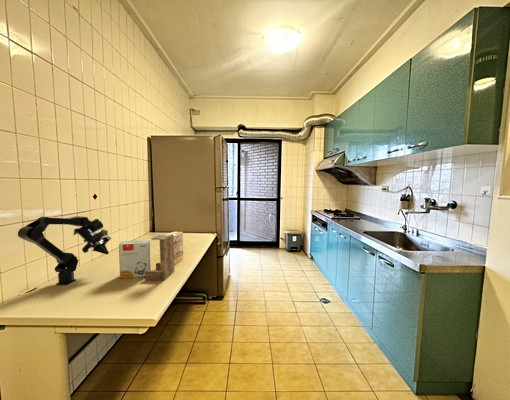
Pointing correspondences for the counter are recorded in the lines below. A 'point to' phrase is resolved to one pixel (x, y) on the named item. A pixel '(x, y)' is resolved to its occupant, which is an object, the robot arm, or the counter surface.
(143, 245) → the hard drive box
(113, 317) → the counter surface
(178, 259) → the coffeecake box
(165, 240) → the bracket
